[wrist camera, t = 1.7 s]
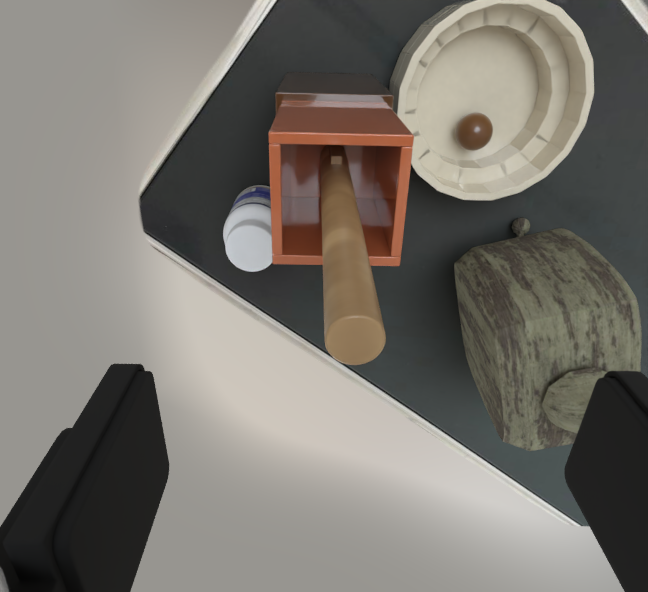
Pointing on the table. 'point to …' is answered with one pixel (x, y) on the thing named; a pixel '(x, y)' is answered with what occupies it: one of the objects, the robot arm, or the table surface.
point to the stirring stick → (346, 268)
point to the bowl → (493, 93)
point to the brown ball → (474, 131)
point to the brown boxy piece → (362, 155)
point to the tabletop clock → (543, 331)
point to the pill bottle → (250, 230)
